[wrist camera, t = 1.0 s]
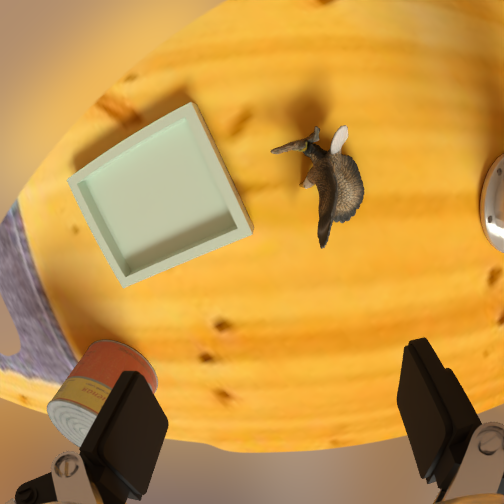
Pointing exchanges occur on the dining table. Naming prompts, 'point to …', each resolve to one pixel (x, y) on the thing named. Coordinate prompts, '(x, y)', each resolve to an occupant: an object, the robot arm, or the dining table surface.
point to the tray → (160, 197)
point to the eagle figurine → (330, 179)
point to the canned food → (94, 386)
